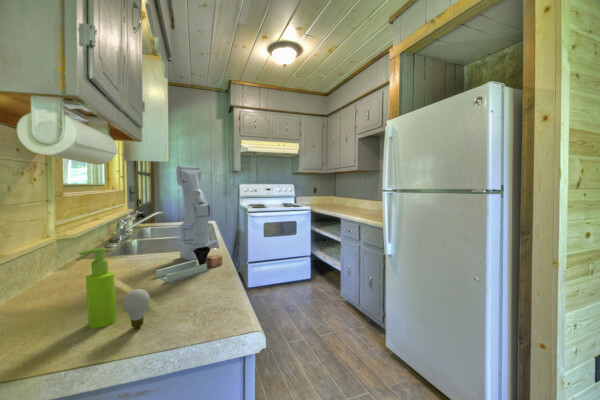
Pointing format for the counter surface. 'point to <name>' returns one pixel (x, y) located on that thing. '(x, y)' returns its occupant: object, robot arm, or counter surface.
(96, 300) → the soap dispenser
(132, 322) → the light bulb
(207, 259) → the cube
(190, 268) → the channel
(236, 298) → the counter surface
